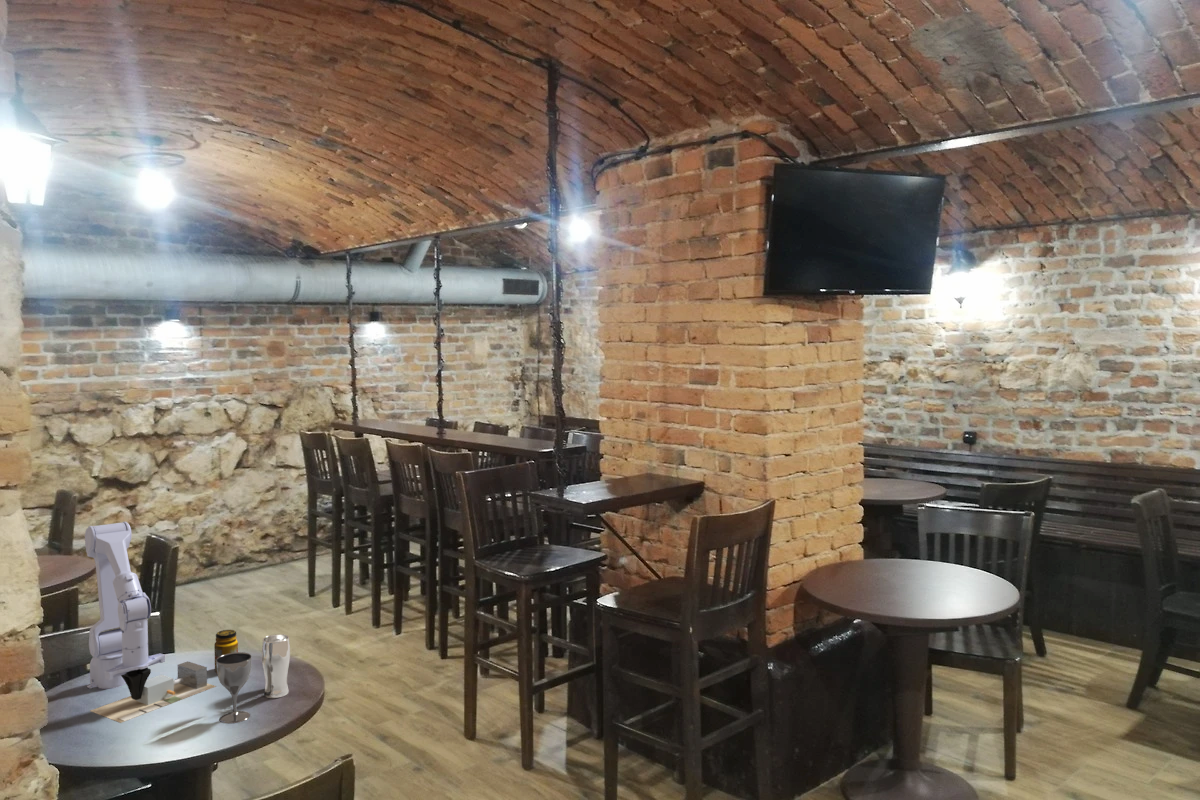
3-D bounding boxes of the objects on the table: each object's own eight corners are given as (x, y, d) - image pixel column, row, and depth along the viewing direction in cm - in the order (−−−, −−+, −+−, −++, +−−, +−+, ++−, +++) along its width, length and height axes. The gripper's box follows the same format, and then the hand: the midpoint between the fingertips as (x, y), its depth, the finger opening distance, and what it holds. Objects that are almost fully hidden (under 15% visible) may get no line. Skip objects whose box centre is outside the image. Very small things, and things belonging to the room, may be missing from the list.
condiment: (243, 674, 242) (243, 632, 241) (212, 682, 236) (211, 639, 235) (233, 667, 247) (232, 626, 246) (202, 675, 241) (201, 633, 240)
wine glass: (248, 723, 211) (247, 663, 210) (213, 725, 210) (212, 664, 209) (255, 709, 219) (254, 651, 218) (222, 711, 218) (221, 652, 217)
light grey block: (136, 700, 221) (135, 683, 220) (176, 686, 230) (175, 669, 230) (153, 707, 217) (153, 689, 217) (193, 692, 226) (193, 675, 226)
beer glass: (281, 700, 225) (280, 643, 224) (256, 697, 226) (256, 641, 225) (295, 689, 232) (295, 634, 231) (272, 687, 233) (271, 632, 232)
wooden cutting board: (89, 715, 215) (89, 709, 214) (185, 680, 237) (185, 675, 237) (120, 727, 208) (120, 721, 208) (216, 690, 231) (216, 685, 230)
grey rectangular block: (177, 683, 232) (177, 664, 232) (188, 679, 235) (187, 661, 235) (196, 689, 228) (196, 670, 228) (206, 685, 231) (206, 667, 231)
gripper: (116, 657, 209) (117, 712, 210) (171, 640, 221) (172, 691, 222) (99, 651, 212) (100, 705, 213) (155, 635, 225) (156, 686, 226)
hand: (136, 698), depth 218 cm, fingers closed
